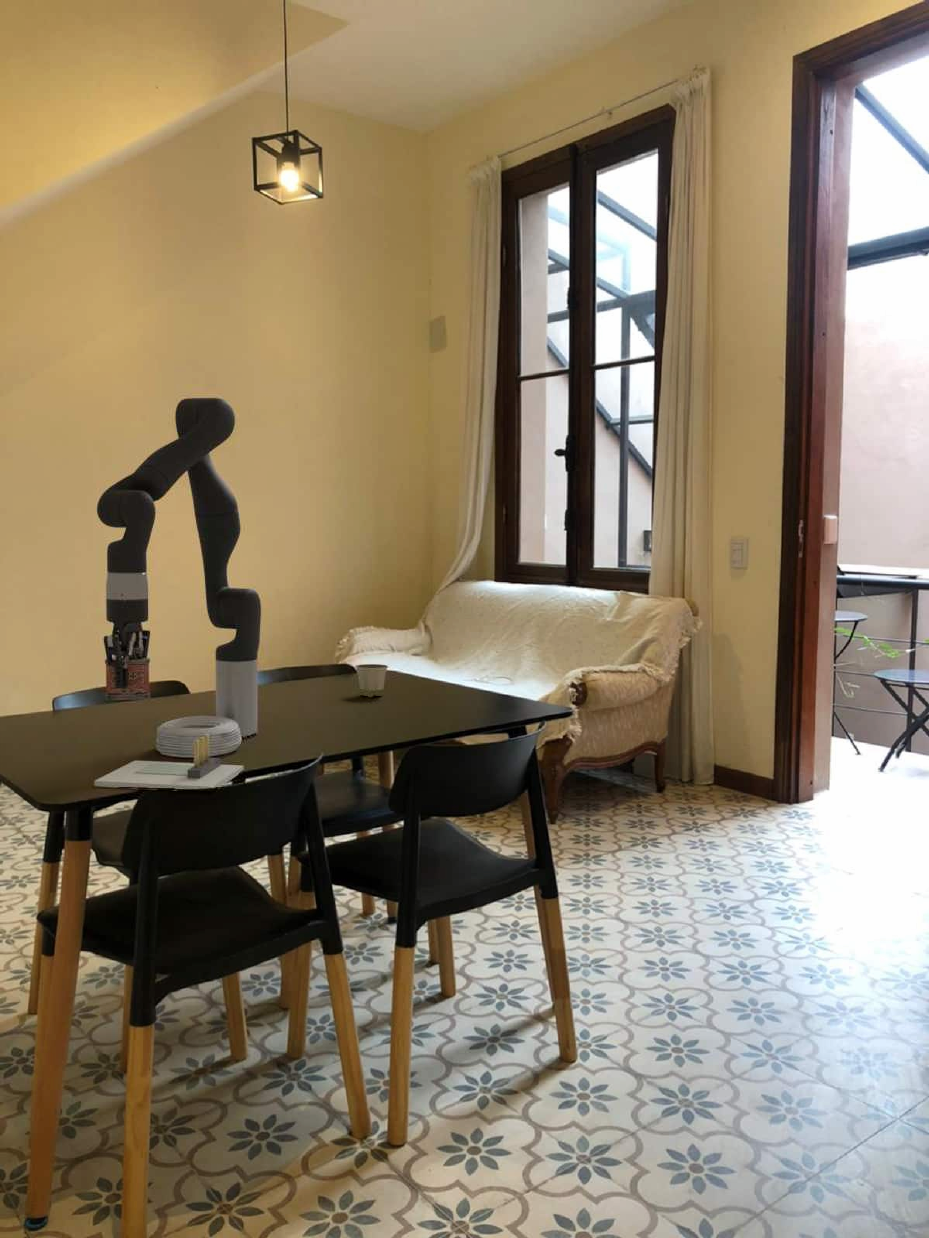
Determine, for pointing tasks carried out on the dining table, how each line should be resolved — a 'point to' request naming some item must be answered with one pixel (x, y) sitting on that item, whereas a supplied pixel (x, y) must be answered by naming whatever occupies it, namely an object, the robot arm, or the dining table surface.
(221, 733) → the cable
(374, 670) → the flower pot
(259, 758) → the dining table surface
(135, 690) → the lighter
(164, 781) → the board
